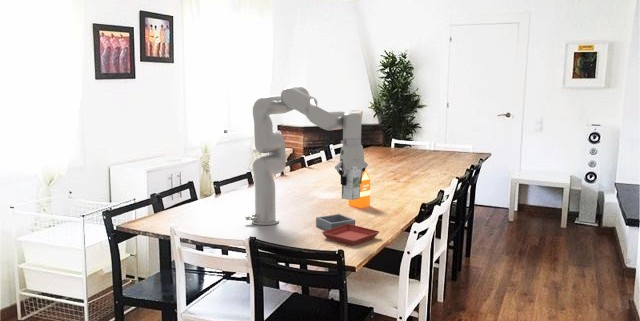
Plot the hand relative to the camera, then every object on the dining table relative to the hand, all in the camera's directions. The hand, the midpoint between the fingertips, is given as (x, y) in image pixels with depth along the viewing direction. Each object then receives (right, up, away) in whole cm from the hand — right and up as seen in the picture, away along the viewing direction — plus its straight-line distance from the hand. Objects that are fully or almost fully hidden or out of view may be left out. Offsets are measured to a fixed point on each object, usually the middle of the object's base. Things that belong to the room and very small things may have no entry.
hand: (351, 183), depth 229 cm
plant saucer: (0, -24, +3) cm, 24 cm away
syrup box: (0, -6, +1) cm, 7 cm away
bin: (-6, -21, +21) cm, 30 cm away
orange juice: (+8, -15, +64) cm, 66 cm away
